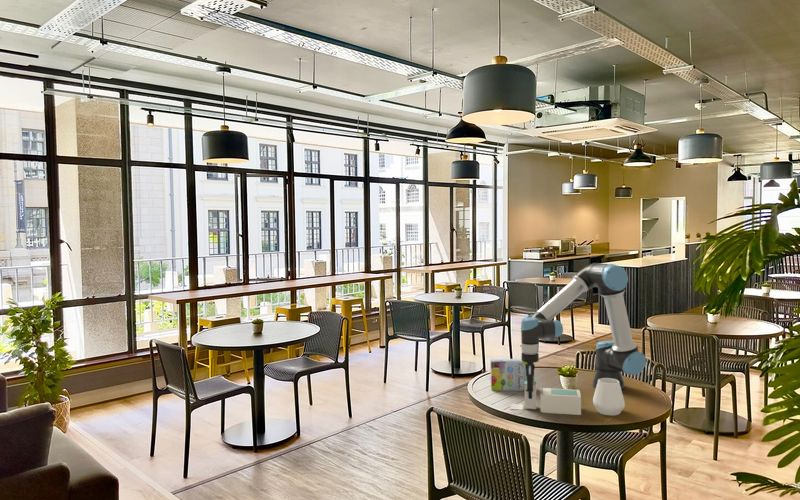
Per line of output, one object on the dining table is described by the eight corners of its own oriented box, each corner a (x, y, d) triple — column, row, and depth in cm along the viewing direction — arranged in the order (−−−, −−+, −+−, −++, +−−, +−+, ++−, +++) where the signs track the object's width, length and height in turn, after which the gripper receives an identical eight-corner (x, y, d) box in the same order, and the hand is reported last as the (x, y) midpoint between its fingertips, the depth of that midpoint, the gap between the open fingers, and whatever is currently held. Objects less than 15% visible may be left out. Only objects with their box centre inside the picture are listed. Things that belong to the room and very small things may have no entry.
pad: (523, 405, 256) (523, 404, 256) (522, 410, 249) (522, 409, 249) (511, 404, 257) (511, 403, 257) (510, 409, 250) (510, 408, 250)
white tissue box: (579, 407, 251) (579, 389, 250) (581, 415, 241) (581, 396, 241) (540, 405, 255) (540, 387, 255) (540, 412, 245) (540, 394, 245)
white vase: (631, 415, 240) (632, 383, 239) (605, 418, 236) (605, 386, 235) (611, 405, 253) (611, 375, 252) (586, 408, 249) (586, 378, 248)
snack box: (532, 387, 281) (532, 358, 280) (534, 391, 276) (534, 361, 275) (490, 387, 283) (490, 358, 282) (491, 390, 278) (490, 361, 277)
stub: (536, 405, 253) (536, 381, 252) (536, 409, 249) (535, 384, 248) (524, 405, 254) (524, 381, 254) (524, 408, 250) (524, 383, 249)
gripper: (522, 347, 259) (522, 396, 261) (520, 356, 242) (521, 409, 244) (538, 348, 258) (539, 397, 259) (538, 357, 241) (538, 410, 242)
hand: (530, 403), depth 251 cm, fingers closed on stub, 4 cm apart
